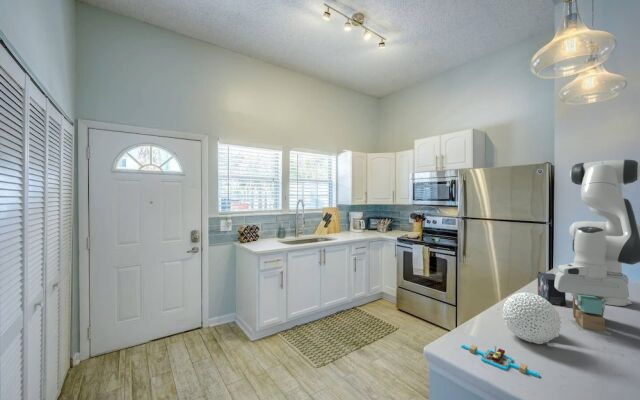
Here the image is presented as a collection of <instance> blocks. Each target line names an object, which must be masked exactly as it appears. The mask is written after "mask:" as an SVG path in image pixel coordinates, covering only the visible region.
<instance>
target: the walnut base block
mask: <svg viewBox="0 0 640 400" xmlns="http://www.w3.org/2000/svg"><path fill="white" fill-rule="evenodd" d="M605 319H606V318H605V317H604V316H603V317H602V316H601V315H599V314H594V313H586V312H583V311H582V310H576V318H575V321H576V323H577V324H578V325H579V326H580V327H581V328H583V329H588V330H594V331H600V332H605V329H606V327H605V324H606V323H605V321H606V320H605Z"/></svg>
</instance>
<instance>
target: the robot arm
mask: <svg viewBox="0 0 640 400" xmlns="http://www.w3.org/2000/svg"><path fill="white" fill-rule="evenodd" d="M569 178H570V180H571V182H572V183H573V184H574V185H579V186H580V199H581V201H582V202H583V203H584V204H585V205H586V206H588V209H589V211H590V212H591V213H592V214H593V215H596V216H600V217H602V218H604V219H605V220H606V221H601V220H600V221H597V220H595V221H594V220H584V221H583V220H581V221H574V222H573V223H572V224H571V225H570V226H569V229H568V231H569V235H570V237H571V239H572V251H573V253H575V256H574V258H573V262H571V263H566V264H559V265H558V266H557V270H558V271H557V272H556V273H555V275H556V276H555V283H554V286H555V288H556V289H557V290H558V291H560V292H565V294H566V293H568V294H570V295H571V296H572V299H573V298H574V299H575V304H576V305H579V306H582V301H581V300H578V298H577V297H578V294H583V295H592V296H600V297H601V298H602V299H603V300H602V309H604V310H605V309H606V305H610V306H618V307H621V306H622V307H624V306H627V305H633V304H632V301H630V300H629V297H630V290H629V286H628V284H629V277H628V276H627V275H625V274H624V273H622V267H623V266H622V265H623V264H626V265H631V266H633V265H635V264H638V263H640V224H638V223H637V220H636V215H635V211H634V210H633V206H632V203H631V201H630V200H629V199H627V198H624V197H623V187H622V184H624V185H628V184H629V185H630V184H632V183H636V181H638V179H639V178H640V164H639V162H638V161H636V160H634V159H624V160H623V159H609V160H606V159H605V160H597V161H588V162H580V163H576V164H574V165H573V166H572V167H571V169H570V171H569ZM576 296H577V297H576Z"/></svg>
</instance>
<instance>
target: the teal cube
mask: <svg viewBox="0 0 640 400" xmlns="http://www.w3.org/2000/svg"><path fill="white" fill-rule="evenodd" d="M578 300H581V301H582V306H579V305H578V308H580V309H581V310H582V311H583V312H586V313H594V314H601V315H602V300H600V299H598V298H597V297H594V296H586V295H578Z"/></svg>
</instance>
